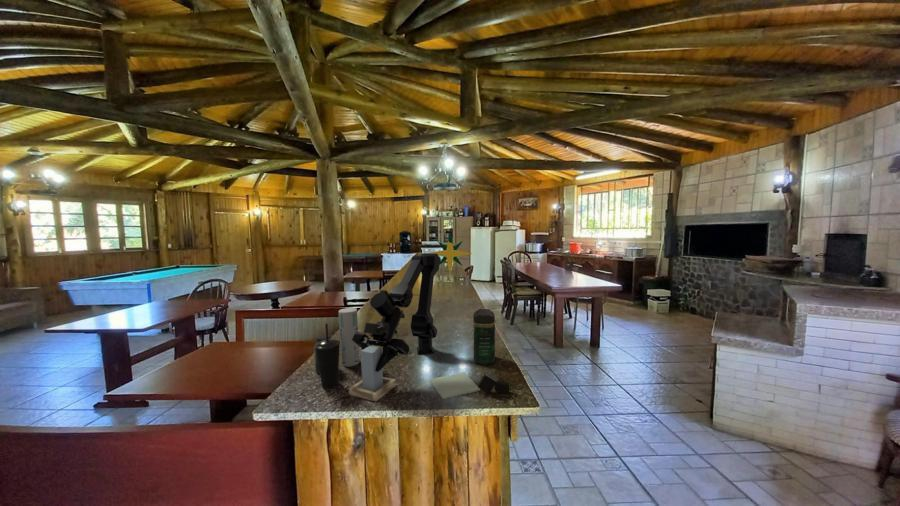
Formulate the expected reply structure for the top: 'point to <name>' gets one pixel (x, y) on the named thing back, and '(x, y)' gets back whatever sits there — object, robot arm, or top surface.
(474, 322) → the coffee jar
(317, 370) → the supplement bottle
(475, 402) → the top surface
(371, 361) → the post
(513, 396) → the top surface
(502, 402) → the top surface
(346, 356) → the spray can
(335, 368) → the drinking cup
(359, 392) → the pocket
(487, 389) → the lighter
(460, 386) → the mat
